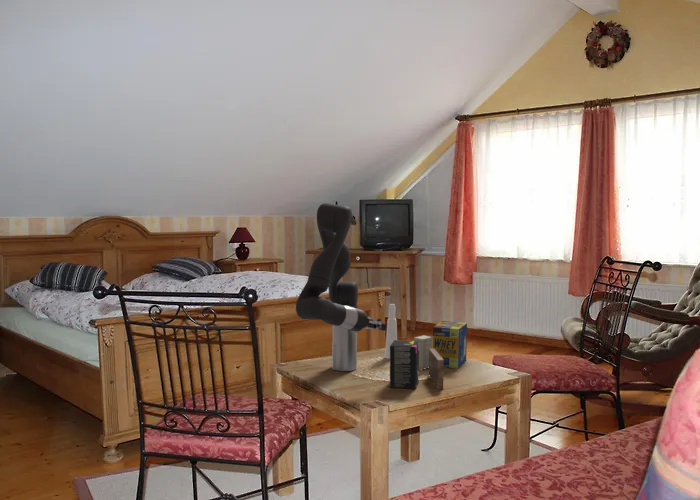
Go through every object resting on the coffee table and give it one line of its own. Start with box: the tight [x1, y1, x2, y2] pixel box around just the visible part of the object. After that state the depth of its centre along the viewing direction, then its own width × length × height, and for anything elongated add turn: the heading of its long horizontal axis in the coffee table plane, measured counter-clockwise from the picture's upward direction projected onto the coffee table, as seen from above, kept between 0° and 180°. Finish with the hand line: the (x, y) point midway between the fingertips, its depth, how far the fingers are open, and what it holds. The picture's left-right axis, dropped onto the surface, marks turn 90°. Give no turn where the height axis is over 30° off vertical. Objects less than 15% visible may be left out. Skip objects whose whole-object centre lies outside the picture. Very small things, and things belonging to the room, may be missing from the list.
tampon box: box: [389, 339, 420, 390], centre depth 235 cm, size 11×9×15 cm
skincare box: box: [413, 335, 433, 369], centre depth 258 cm, size 6×4×12 cm
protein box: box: [432, 320, 468, 370], centre depth 267 cm, size 10×15×16 cm
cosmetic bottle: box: [383, 303, 398, 360], centre depth 276 cm, size 6×6×22 cm
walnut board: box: [428, 349, 445, 390], centre depth 239 cm, size 2×18×10 cm, turn 3°
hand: (385, 327), depth 234 cm, fingers closed
